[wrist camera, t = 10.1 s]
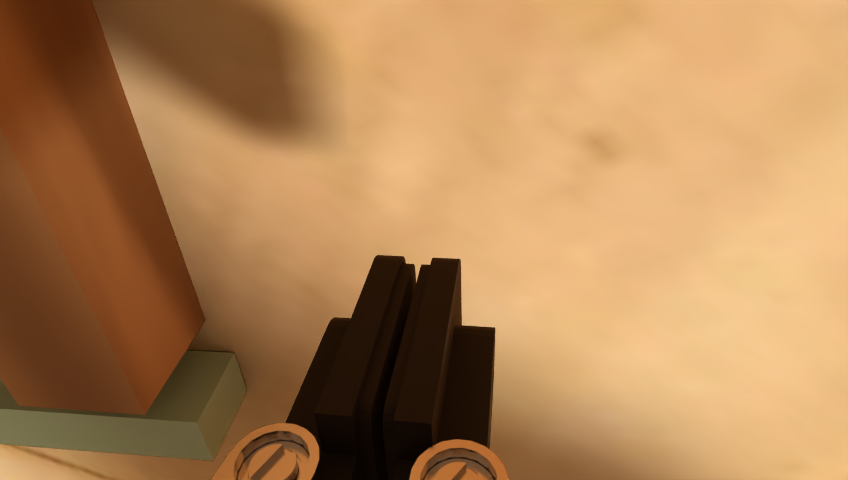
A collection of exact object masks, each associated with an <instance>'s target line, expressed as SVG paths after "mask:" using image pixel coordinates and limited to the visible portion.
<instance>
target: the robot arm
mask: <svg viewBox="0 0 848 480" xmlns="http://www.w3.org/2000/svg"><path fill="white" fill-rule="evenodd" d="M494 355H495V328H492V327H477V326H462V315H461V261H460V259H449V258H432V261H431V265H421V268H420V271H419V275H418V279H417V283H416V275H415V266H414V264H406V262H405V258H404V257H403V256H384V255H377V256H376V257H375V258H374V261H373V263H372V266H371V268H370V271H369V274H368V276H367V279H366V281H365V284H364V286H363V289H362V291H361V294H360V297H359V299H358V302H357V304H356V307H355V309H354V312H353V315H352V317H351V318H335V317H334V318H333V319H332V320H331V321H330V323H329V324H328V327H327V329H326V331H325V333H324V336H323V338H322V340H321V343H320V345H319V347H318V349H317V352H316V354H315V356H314V359H313V361H312V363H311V366H310V368H309V370H308V372H307V375H306V377H305V379H304V382H303V384H302V386H301V388H300V391H299V393H298V395H297V398H296V400H295V402H294V404H293V407H292V409H291V411H290V414H289V416H288V418H287V421H286V423H277V424H272V425H266V426H264V427H262V428H259V429H257V430H254V431H252V432H251V433H250V434H248V435H247V436H245V437H244V438H242V439H241V440H240V441H239V442H238V443H237V444H236V446H235V447H234V448H233V449H232V450H231V451H230V453H229V454H228V456H227V457H226V458H225V460H224V461H223V463H222V464H221V466H220V467H219V469H218V470H217V472H216V473H215V474H214V476H213V477H212V479H211V480H509V478H508V475H507V472H506V469H505V466H504V465H503V463H502V462H501V461H500V459H499V458H498V456H497V455H496V454H495V453H493V452H492V451H491V450H490V434H491V417H492V400H493V380H494Z"/></svg>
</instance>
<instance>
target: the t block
mask: <svg viewBox="0 0 848 480" xmlns="http://www.w3.org/2000/svg"><path fill="white" fill-rule="evenodd" d="M204 321H205V318H204V315H203V312H202V309H201V307H200V304H199V301H198V298H197V295H196V293H195V290H194V287H193V284H192V281H191V279H190V276H189V273H188V270H187V267H186V264H185V262H184V259H183V256H182V253H181V250H180V248H179V245H178V242H177V239H176V236H175V234H174V231H173V228H172V225H171V222H170V220H169V217H168V214H167V211H166V208H165V205H164V203H163V200H162V197H161V194H160V191H159V189H158V186H157V183H156V180H155V177H154V175H153V172H152V169H151V166H150V163H149V161H148V158H147V155H146V152H145V149H144V146H143V144H142V141H141V138H140V135H139V132H138V130H137V127H136V124H135V121H134V118H133V116H132V113H131V110H130V107H129V104H128V102H127V99H126V96H125V93H124V90H123V87H122V85H121V82H120V79H119V76H118V73H117V71H116V68H115V65H114V62H113V59H112V57H111V54H110V51H109V48H108V45H107V43H106V40H105V37H104V34H103V31H102V28H101V26H100V23H99V20H98V17H97V14H96V12H95V9H94V6H93V3H92V0H0V379H1V380H2V382H3V383H4V385H5V386H6V388H7V389H8V390H9V392H10V393H11V395H12V396H13V398H14V399H15V401H16V402H17V403H18V405H19V406H29V407H43V408H57V409H71V410H85V411H99V412H113V413H127V414H141V415H145V414H146V413H147V411H148V410H149V408H150V406H151V405H152V403H153V402H154V400H155V398H156V397H157V395H158V394H159V392H160V391H161V389H162V387H163V386H164V384H165V383H166V381H167V380H168V378H169V376H170V375H171V373H172V372H173V370H174V369H175V367H176V365H177V364H178V362H179V361H180V359H181V358H182V356H183V354H184V353H185V351H186V350H187V348H188V347H189V345H190V343H191V342H192V340H193V339H194V337H195V335H196V334H197V332H198V331H199V329H200V328H201V326H202V324H203V323H204Z"/></svg>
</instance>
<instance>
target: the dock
mask: <svg viewBox="0 0 848 480" xmlns="http://www.w3.org/2000/svg"><path fill="white" fill-rule="evenodd" d="M246 392H247V388H246V385H245V383H244V380H243V377H242V374H241V371H240V368H239V365H238V362H237V359H236V356H235V353H229V352H210V351H191V350H186V351H185V353H184V354H183V356H182V358H181V359H180V361H179V362H178V364H177V365H176V367H175V369H174V370H173V372H172V373H171V375H170V376H169V378H168V380H167V381H166V383H165V384H164V386H163V387H162V389H161V391H160V392H159V394H158V395H157V397H156V398H155V400H154V402H153V403H152V405H151V406H150V408H149V410H148V411H147V413H146V414H145V415H141V414H127V413H113V412H99V411H85V410H71V409H57V408H43V407H29V406H19V405H18V403H17V402H16V401H15V399H14V398H13V396H12V395H11V393H10V392H9V390H8V389H7V388H6V386H5V385H4V383H3V382H2V380H1V379H0V444H5V445H18V446H30V447H43V448H56V449H68V450H81V451H94V452H106V453H119V454H132V455H144V456H157V457H170V458H182V459H195V460H208V461H214V459H215V457H216V455H217V453H218V451H219V449H220V447H221V444H222V442H223V440H224V438H225V436H226V434H227V432H228V430H229V428H230V426H231V423H232V421H233V419H234V417H235V415H236V413H237V411H238V409H239V407H240V405H241V402H242V400H243V398H244V396H245V394H246Z"/></svg>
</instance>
